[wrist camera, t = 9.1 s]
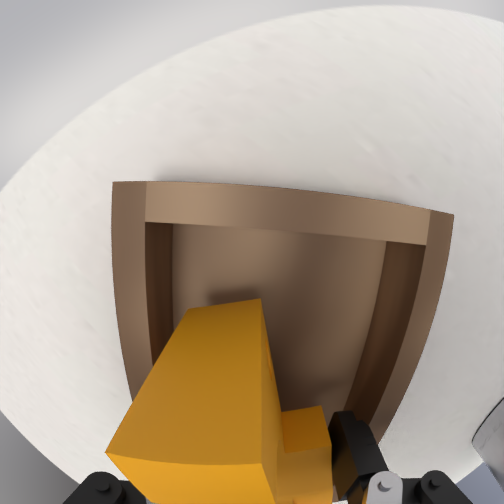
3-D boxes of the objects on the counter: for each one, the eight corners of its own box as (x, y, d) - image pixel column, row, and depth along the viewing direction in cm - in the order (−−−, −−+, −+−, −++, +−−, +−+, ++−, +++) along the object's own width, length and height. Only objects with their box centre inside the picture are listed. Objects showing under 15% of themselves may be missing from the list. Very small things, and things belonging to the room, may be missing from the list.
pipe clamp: (322, 472, 11) (337, 559, 5) (249, 481, 12) (245, 568, 5) (311, 289, 9) (386, 437, 3) (188, 308, 9) (105, 452, 3)
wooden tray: (406, 207, 11) (454, 214, 7) (329, 465, 15) (337, 501, 11) (152, 184, 11) (112, 181, 7) (174, 459, 15) (164, 496, 11)
